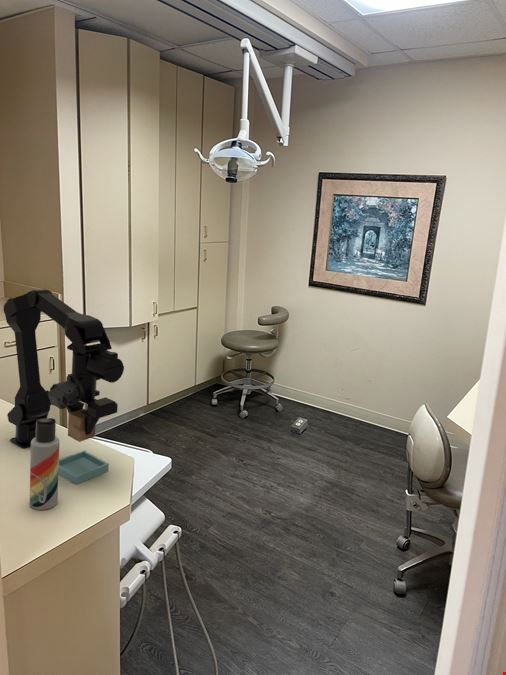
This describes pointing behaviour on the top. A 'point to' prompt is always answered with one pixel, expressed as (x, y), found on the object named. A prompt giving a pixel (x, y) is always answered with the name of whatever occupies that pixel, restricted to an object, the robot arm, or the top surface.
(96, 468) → the teal tray
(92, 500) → the top surface
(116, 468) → the top surface
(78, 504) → the top surface
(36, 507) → the lotion bottle
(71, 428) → the walnut block
